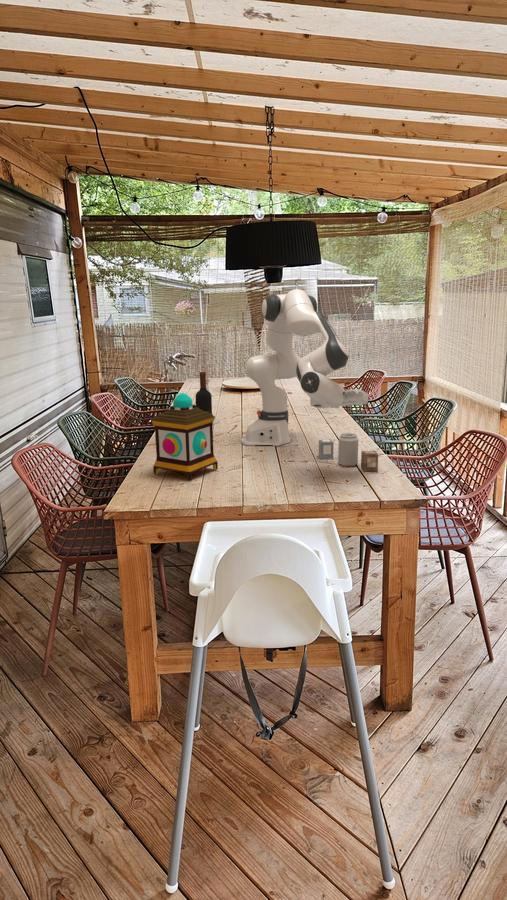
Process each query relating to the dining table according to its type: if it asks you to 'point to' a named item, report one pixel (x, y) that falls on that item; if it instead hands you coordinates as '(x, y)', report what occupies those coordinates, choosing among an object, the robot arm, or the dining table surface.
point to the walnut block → (369, 461)
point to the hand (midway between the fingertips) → (349, 404)
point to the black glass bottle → (208, 390)
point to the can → (348, 450)
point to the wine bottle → (204, 395)
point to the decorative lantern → (184, 438)
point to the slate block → (326, 449)
